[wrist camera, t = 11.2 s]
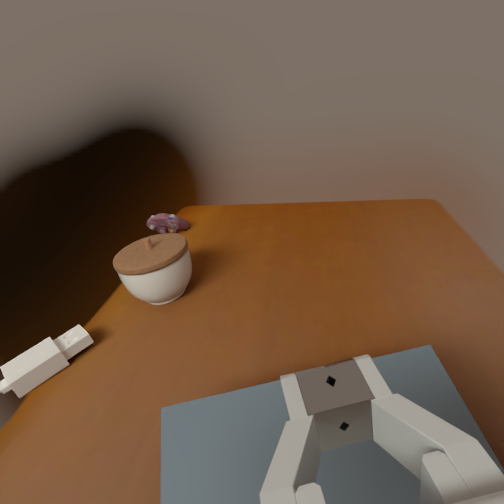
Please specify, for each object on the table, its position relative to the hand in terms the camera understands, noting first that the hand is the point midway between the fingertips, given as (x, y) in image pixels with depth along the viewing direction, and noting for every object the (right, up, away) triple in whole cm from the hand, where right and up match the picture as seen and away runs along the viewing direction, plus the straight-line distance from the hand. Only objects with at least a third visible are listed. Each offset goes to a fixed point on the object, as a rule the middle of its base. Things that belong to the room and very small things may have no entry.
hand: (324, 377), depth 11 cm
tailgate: (+4, -16, +11) cm, 20 cm away
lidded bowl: (-18, -4, +50) cm, 53 cm away
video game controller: (-23, +9, +76) cm, 80 cm away
